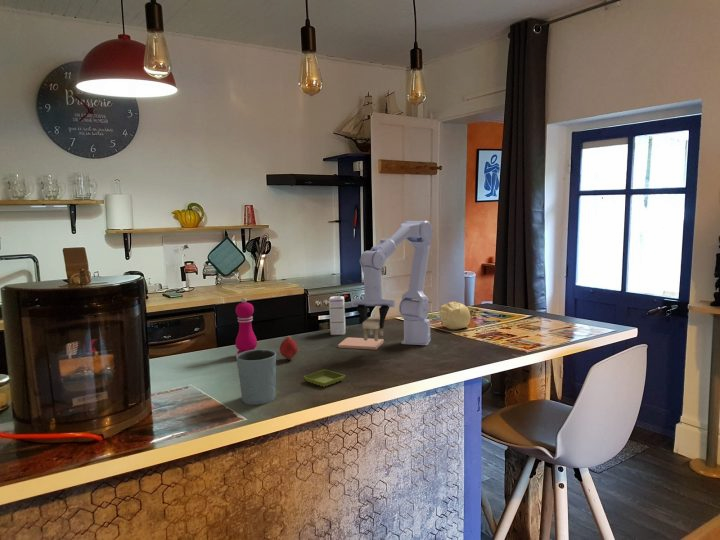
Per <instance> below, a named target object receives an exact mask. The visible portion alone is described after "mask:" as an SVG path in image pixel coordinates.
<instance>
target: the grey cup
mask: <svg viewBox="0 0 720 540" xmlns="http://www.w3.org/2000/svg"><path fill="white" fill-rule="evenodd" d="M235 359H236V362H237V368H238V378H239V383H240V384H239V386H240V392H241V400H242V402H243V403H244V404H246V405H251V406H253V405H254V406H259V404H260V405H265V403H266V404H269V403H271V402H273V401H274V400H275V399H276V383H277V382H276V380H277V379H276V377H277V376H276V375H277V374H276V372H277V371H276V370H277V369H276V368H277V352H276V351H274V350H271V349H263V348H262V349H259V348H258V349H257V348H255V350H249V351H245V352H242V353H240V354H238V355H237V354H236V357H235ZM274 398H275V399H274ZM272 400H273V401H272ZM268 402H269V403H268Z"/></svg>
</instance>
